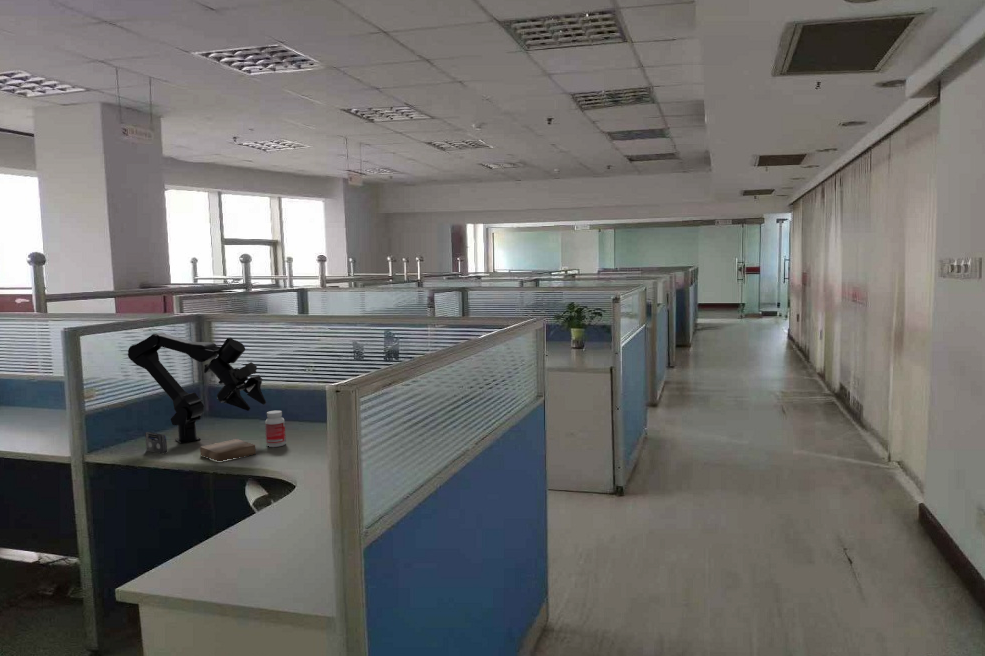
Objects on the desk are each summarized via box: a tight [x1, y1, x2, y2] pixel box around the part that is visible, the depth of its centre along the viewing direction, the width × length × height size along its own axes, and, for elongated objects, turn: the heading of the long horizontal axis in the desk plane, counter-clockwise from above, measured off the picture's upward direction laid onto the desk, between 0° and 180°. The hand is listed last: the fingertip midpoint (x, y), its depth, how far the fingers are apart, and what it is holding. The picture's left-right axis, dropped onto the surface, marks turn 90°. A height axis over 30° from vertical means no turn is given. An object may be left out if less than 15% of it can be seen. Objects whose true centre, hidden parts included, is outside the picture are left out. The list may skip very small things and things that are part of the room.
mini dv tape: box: [144, 431, 168, 454], centre depth 233 cm, size 8×2×6 cm, turn 61°
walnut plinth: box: [199, 438, 257, 461], centre depth 227 cm, size 12×12×3 cm
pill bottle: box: [264, 410, 287, 448], centre depth 237 cm, size 6×6×11 cm
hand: (257, 406), depth 238 cm, fingers open, 9 cm apart
